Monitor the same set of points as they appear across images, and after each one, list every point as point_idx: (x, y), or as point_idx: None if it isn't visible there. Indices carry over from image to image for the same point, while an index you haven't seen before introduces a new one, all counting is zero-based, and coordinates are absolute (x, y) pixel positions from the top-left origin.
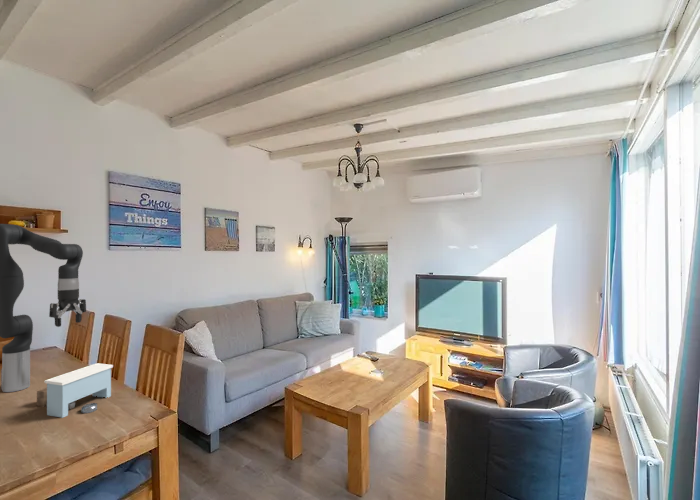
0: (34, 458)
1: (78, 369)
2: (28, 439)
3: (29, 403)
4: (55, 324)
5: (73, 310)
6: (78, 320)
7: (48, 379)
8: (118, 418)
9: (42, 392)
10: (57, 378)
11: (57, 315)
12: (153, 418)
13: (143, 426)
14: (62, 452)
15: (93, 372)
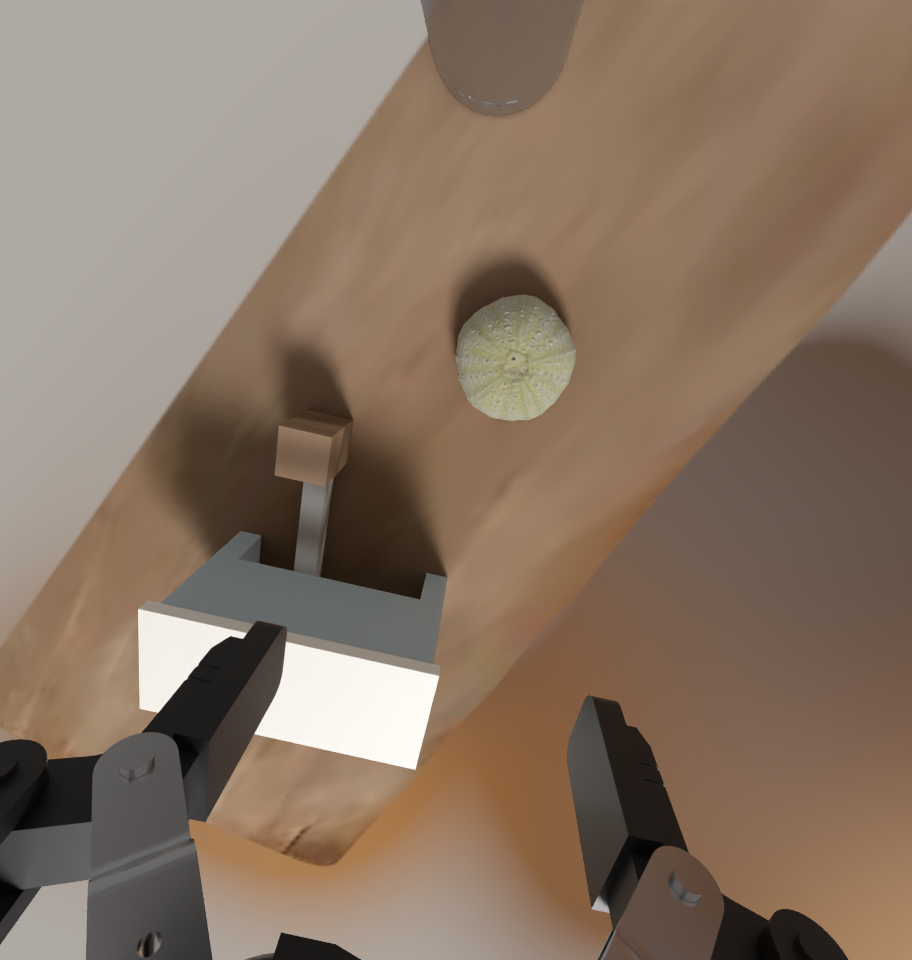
0: (40, 695)
1: (319, 653)
2: (98, 608)
3: (319, 353)
4: (212, 660)
5: (604, 957)
6: (574, 771)
7: (154, 617)
8: (270, 761)
9: (276, 464)
10: (178, 648)
11: (89, 870)
12: (290, 841)
13: (243, 837)
14: (83, 736)
15: (301, 741)
